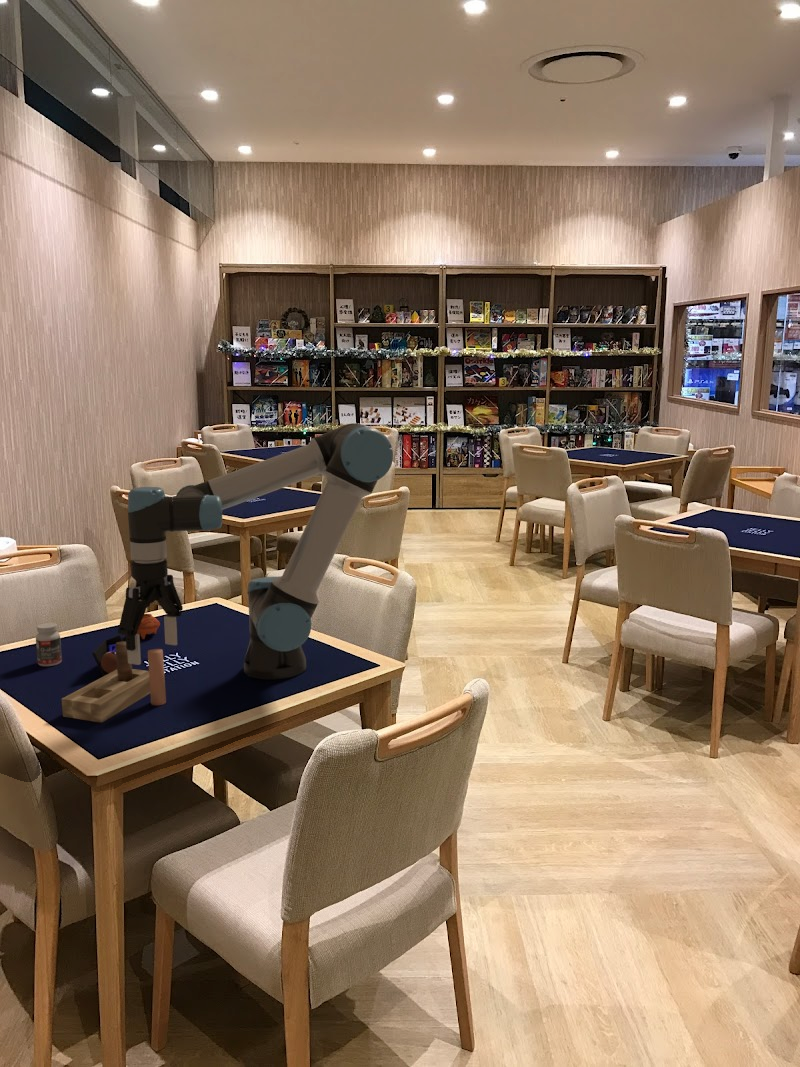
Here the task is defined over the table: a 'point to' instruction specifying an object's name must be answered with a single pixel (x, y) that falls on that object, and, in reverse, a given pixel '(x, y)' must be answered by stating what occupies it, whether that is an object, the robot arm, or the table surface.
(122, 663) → the walnut peg
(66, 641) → the table surface
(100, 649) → the character figurine
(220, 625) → the table surface
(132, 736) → the table surface
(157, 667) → the terracotta peg
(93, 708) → the maple hole block
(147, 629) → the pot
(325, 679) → the table surface
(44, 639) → the pill bottle
